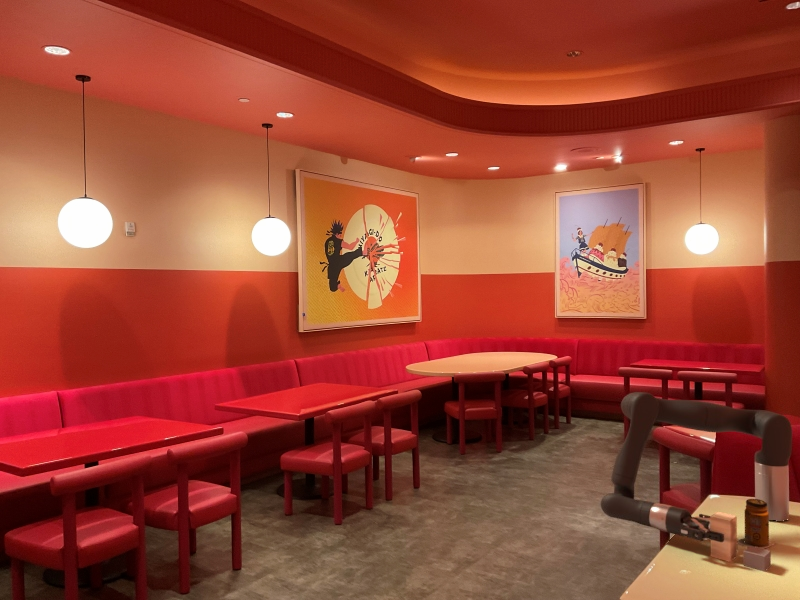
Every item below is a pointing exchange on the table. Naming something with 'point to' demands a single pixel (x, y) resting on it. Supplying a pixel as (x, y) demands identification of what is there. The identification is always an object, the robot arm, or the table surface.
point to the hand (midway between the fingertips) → (729, 533)
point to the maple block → (729, 529)
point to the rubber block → (757, 558)
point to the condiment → (756, 525)
